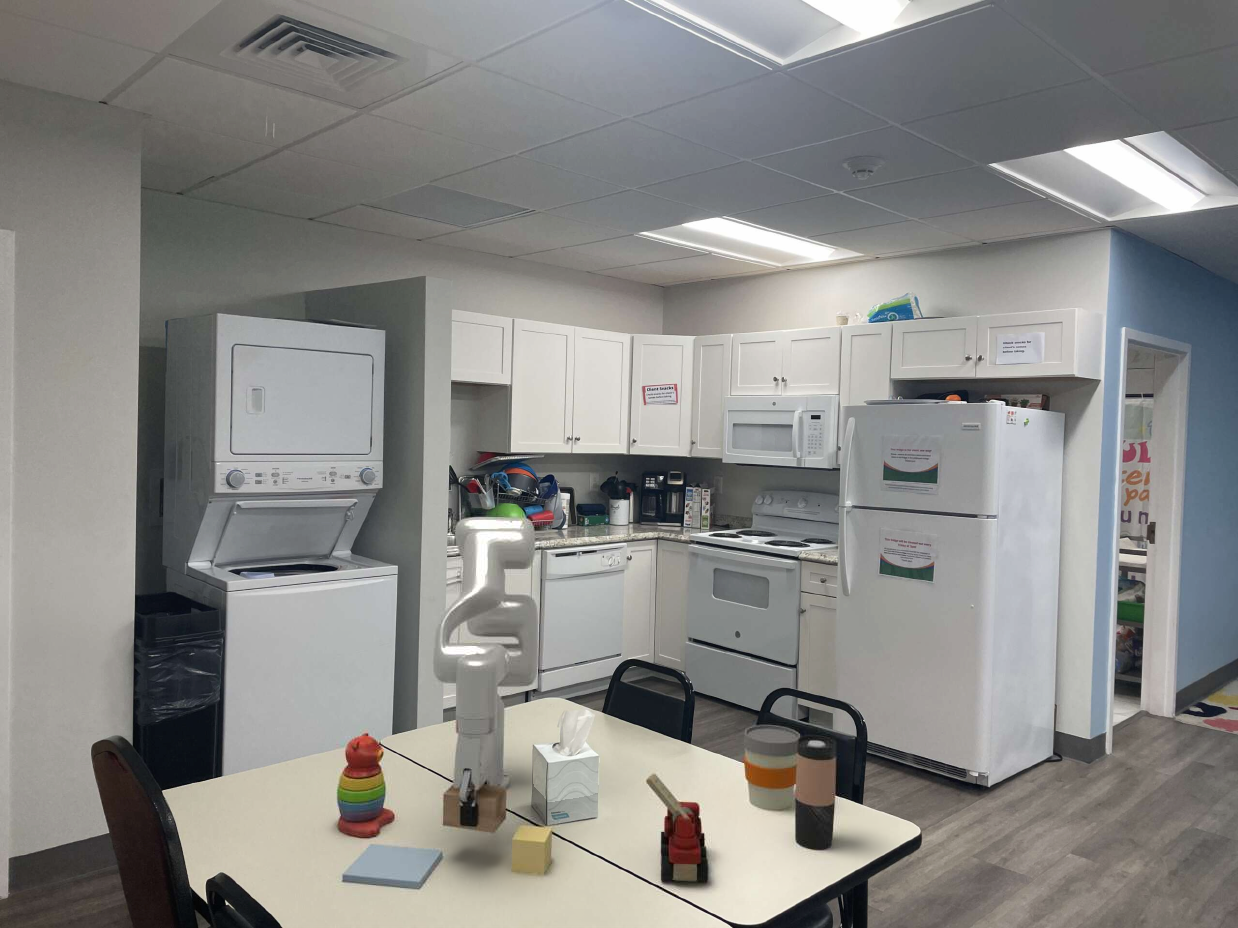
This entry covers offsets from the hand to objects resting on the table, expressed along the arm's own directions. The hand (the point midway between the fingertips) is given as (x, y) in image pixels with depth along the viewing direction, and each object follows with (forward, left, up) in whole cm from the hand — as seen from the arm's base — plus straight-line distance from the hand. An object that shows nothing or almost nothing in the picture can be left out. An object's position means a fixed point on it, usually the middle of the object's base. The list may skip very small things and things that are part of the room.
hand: (474, 815), depth 168 cm
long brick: (0, 0, -1) cm, 1 cm away
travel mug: (-19, +63, -8) cm, 67 cm away
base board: (+7, -13, -8) cm, 16 cm away
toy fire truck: (-4, +37, -8) cm, 38 cm away
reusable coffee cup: (-37, +55, -8) cm, 67 cm away
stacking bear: (-9, -26, -8) cm, 28 cm away
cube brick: (+1, +11, -8) cm, 14 cm away
